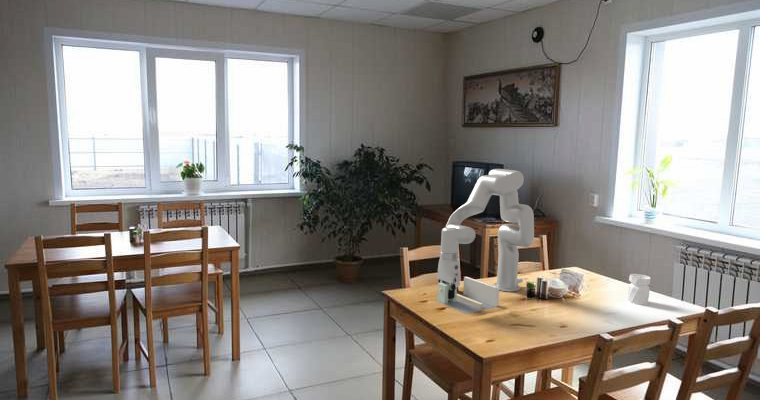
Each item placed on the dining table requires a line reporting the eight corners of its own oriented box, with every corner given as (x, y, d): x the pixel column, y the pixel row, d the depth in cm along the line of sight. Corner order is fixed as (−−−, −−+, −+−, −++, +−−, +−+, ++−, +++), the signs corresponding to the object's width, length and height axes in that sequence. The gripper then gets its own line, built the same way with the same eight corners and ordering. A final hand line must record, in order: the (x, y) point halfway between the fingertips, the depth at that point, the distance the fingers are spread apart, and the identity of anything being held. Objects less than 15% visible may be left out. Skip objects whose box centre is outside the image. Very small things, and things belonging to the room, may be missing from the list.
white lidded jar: (646, 306, 234) (648, 280, 233) (625, 302, 240) (627, 276, 238) (649, 301, 241) (652, 276, 240) (629, 297, 247) (631, 272, 245)
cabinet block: (449, 298, 232) (450, 281, 231) (456, 301, 228) (457, 283, 227) (436, 301, 228) (437, 283, 227) (443, 304, 224) (444, 286, 223)
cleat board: (465, 296, 240) (466, 276, 239) (498, 309, 224) (499, 288, 223) (433, 303, 230) (434, 282, 228) (465, 317, 213) (466, 294, 212)
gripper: (469, 259, 221) (466, 300, 223) (442, 251, 235) (440, 290, 237) (456, 261, 217) (453, 303, 219) (429, 252, 230) (428, 292, 233)
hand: (447, 296), depth 228 cm, fingers closed on cabinet block, 4 cm apart
